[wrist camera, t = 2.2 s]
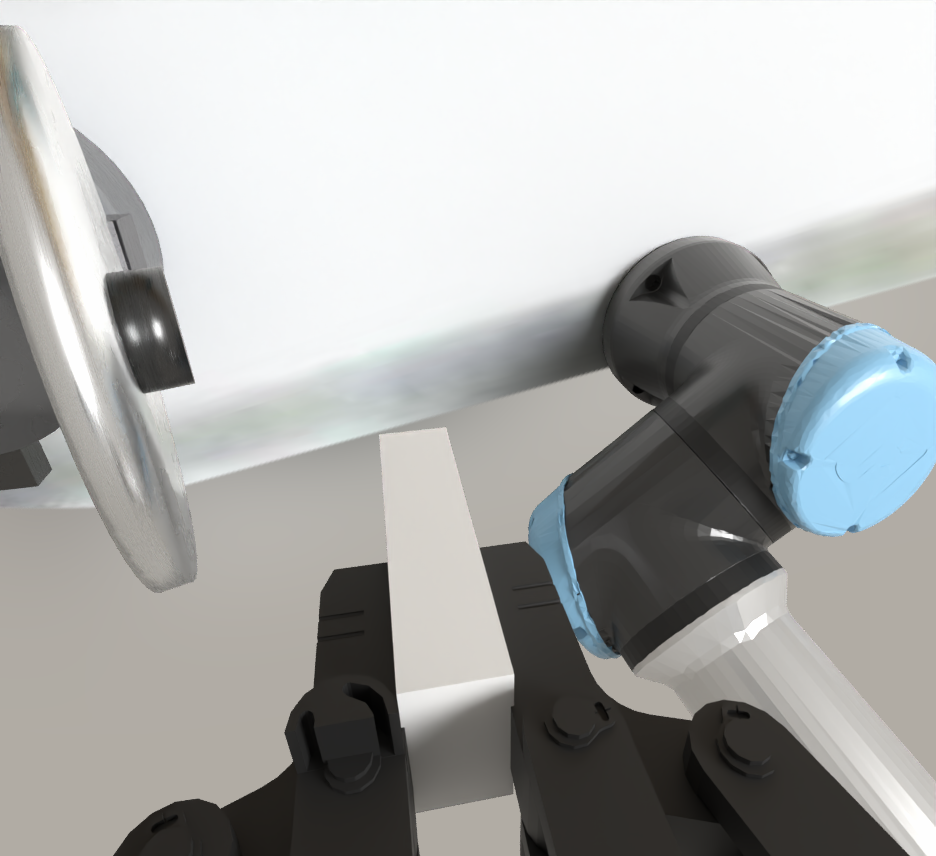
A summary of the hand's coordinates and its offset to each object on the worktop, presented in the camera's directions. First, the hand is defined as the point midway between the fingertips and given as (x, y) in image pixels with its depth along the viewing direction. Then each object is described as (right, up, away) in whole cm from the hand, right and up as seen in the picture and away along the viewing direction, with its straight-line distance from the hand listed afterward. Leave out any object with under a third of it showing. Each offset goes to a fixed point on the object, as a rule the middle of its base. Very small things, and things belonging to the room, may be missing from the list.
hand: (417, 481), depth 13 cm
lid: (-14, +5, +10) cm, 18 cm away
